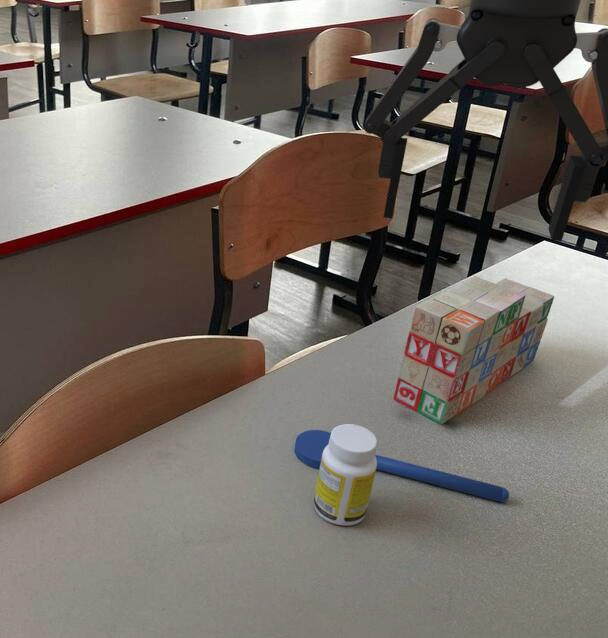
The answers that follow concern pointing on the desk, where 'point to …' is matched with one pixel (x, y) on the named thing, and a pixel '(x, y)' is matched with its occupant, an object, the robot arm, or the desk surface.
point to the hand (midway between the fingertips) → (469, 224)
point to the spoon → (398, 468)
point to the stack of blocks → (469, 344)
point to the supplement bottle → (346, 475)
